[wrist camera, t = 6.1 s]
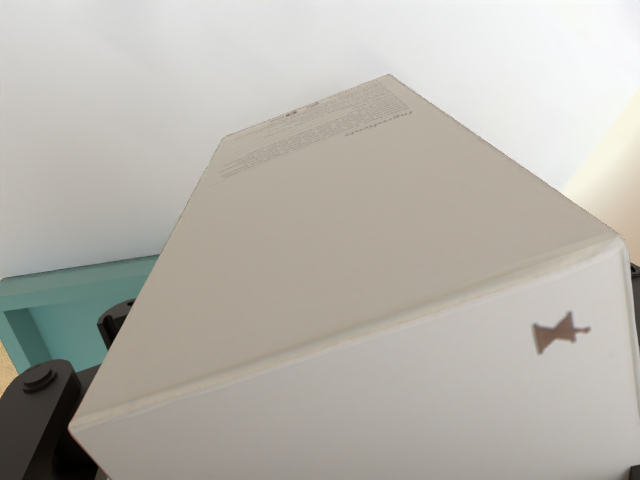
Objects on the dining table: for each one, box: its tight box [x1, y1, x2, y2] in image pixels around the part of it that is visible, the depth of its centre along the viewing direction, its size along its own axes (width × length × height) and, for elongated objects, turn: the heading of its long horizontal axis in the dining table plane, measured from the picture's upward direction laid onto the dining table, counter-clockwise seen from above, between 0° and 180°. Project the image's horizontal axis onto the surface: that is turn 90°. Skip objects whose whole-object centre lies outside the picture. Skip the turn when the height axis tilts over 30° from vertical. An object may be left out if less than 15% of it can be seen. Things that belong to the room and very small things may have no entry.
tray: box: [0, 255, 160, 480], centre depth 32 cm, size 14×16×3 cm
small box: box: [68, 74, 640, 480], centre depth 12 cm, size 8×6×13 cm
